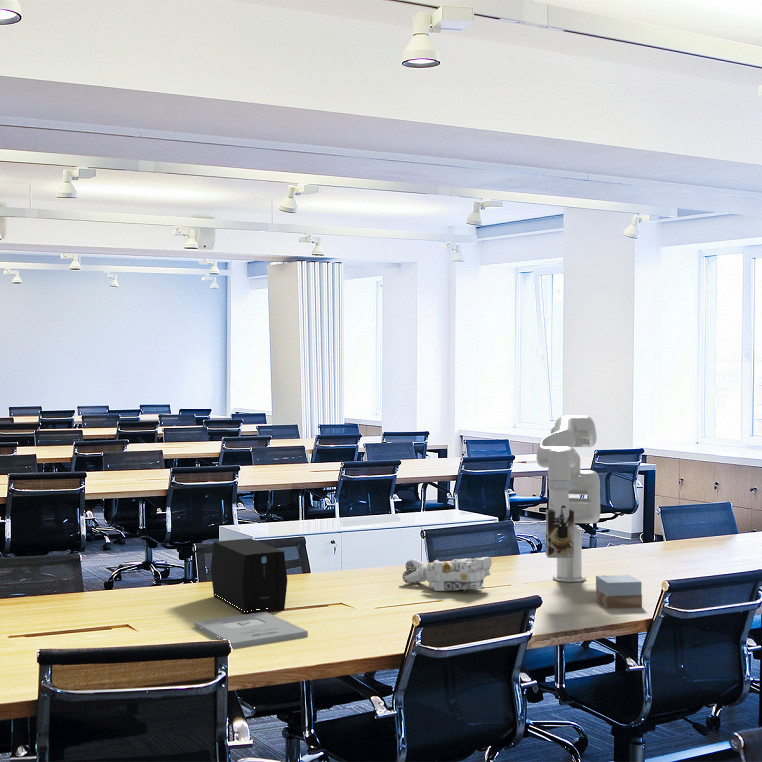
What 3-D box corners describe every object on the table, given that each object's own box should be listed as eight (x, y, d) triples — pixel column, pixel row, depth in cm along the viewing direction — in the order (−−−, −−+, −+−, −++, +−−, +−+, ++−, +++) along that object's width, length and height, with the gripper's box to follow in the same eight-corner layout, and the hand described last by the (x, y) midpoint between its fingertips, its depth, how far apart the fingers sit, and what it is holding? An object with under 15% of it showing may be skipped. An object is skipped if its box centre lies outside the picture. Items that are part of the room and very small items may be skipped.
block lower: (596, 601, 345) (596, 588, 345) (629, 600, 346) (629, 587, 346) (607, 609, 333) (607, 596, 333) (642, 608, 334) (641, 595, 334)
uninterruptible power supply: (242, 615, 326) (241, 555, 326) (209, 596, 356) (209, 541, 356) (287, 609, 334) (287, 551, 334) (251, 591, 363) (251, 537, 363)
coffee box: (548, 558, 338) (547, 511, 338) (545, 554, 345) (545, 508, 344) (574, 558, 338) (574, 511, 337) (571, 554, 344) (571, 508, 344)
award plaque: (232, 650, 285) (232, 642, 285) (194, 628, 311) (194, 621, 311) (307, 638, 298) (307, 630, 298) (265, 618, 324) (265, 611, 324)
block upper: (596, 588, 345) (595, 575, 345) (629, 587, 346) (628, 575, 346) (607, 596, 333) (607, 582, 333) (641, 595, 334) (641, 581, 334)
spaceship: (479, 594, 350) (476, 561, 351) (395, 593, 368) (392, 561, 368) (497, 586, 364) (494, 554, 364) (415, 586, 381) (412, 555, 382)
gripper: (542, 481, 349) (542, 531, 349) (555, 488, 332) (556, 540, 332) (562, 481, 350) (563, 531, 350) (577, 487, 332) (577, 540, 333)
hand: (559, 535), depth 341 cm, fingers closed on coffee box, 6 cm apart
